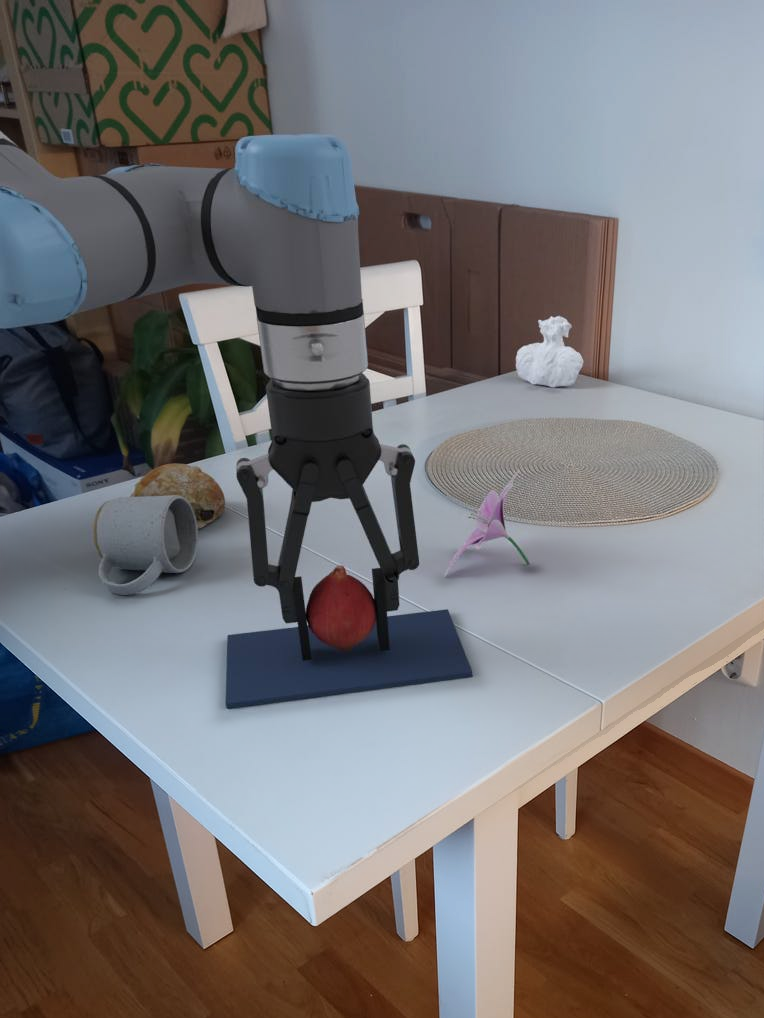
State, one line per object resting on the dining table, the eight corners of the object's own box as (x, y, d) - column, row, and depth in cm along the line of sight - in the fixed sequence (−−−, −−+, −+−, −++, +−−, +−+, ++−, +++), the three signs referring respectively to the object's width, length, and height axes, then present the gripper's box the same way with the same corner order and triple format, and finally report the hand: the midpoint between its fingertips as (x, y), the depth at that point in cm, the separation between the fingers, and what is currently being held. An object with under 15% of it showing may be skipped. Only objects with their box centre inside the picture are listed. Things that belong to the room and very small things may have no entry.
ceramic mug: (131, 548, 99) (115, 481, 95) (204, 552, 98) (191, 484, 94) (82, 597, 90) (62, 524, 86) (161, 601, 89) (145, 528, 85)
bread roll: (170, 568, 103) (180, 514, 98) (106, 515, 105) (112, 459, 100) (234, 535, 110) (247, 483, 105) (173, 486, 112) (182, 433, 107)
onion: (307, 668, 77) (296, 583, 73) (315, 633, 82) (305, 551, 78) (377, 666, 77) (370, 581, 73) (381, 631, 82) (374, 549, 78)
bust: (582, 400, 151) (603, 335, 151) (567, 380, 144) (589, 313, 144) (518, 390, 156) (539, 327, 157) (501, 370, 149) (522, 305, 150)
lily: (502, 537, 103) (457, 468, 98) (586, 523, 94) (542, 447, 90) (448, 610, 96) (398, 539, 92) (534, 602, 88) (483, 523, 83)
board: (226, 709, 73) (225, 703, 73) (228, 639, 82) (227, 634, 82) (472, 676, 77) (472, 671, 77) (448, 613, 86) (447, 608, 86)
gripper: (180, 400, 62) (231, 685, 74) (454, 380, 66) (461, 656, 78) (185, 371, 69) (232, 638, 81) (435, 354, 72) (445, 613, 84)
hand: (344, 646), depth 79 cm, fingers closed on onion, 6 cm apart
